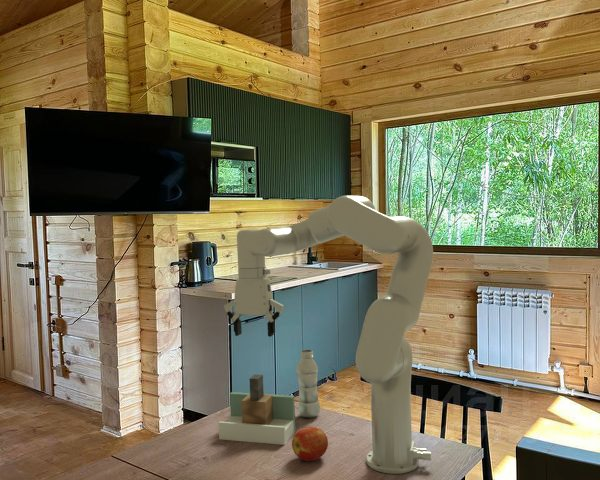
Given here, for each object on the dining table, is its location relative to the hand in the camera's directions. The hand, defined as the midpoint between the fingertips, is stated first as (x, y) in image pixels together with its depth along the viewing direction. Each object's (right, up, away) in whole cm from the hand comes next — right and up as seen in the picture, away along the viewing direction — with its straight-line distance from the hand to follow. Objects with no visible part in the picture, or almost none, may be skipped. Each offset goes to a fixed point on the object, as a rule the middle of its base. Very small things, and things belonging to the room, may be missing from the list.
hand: (254, 335), depth 151 cm
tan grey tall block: (+1, -25, +1) cm, 25 cm away
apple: (+15, -29, -15) cm, 36 cm away
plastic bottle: (+15, -27, +14) cm, 34 cm away
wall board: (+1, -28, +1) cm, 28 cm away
